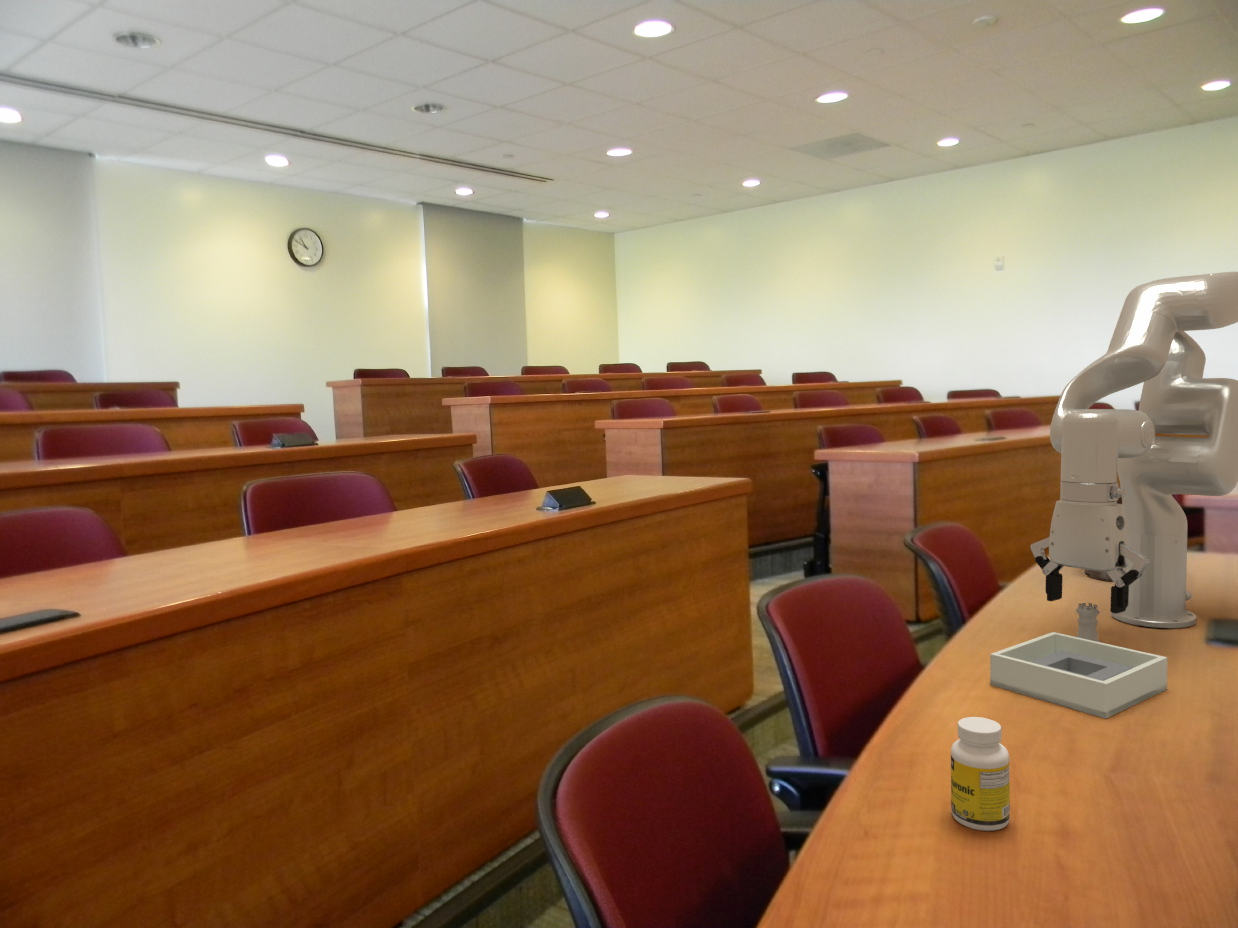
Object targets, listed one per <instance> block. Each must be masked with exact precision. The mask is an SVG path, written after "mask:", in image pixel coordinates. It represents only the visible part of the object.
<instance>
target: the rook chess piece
mask: <svg viewBox="0 0 1238 928" xmlns="http://www.w3.org/2000/svg"><path fill="white" fill-rule="evenodd" d="M1075 612H1076V613H1077V614H1078V618H1077V622H1078V629H1077V635H1076V637H1078V638H1083V639H1087V640H1092V641H1096V642H1101V640H1100V639H1099V636H1098V627H1097V624H1098V623H1099V621H1098V619H1097V617H1098V615H1100V613H1101V611H1100V610H1099V608H1098V604H1095V603H1094V604H1093V603H1091V602H1088V605H1087V603H1086V602H1081V603H1078V607H1077V608H1076V609H1075Z"/></svg>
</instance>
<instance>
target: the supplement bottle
mask: <svg viewBox="0 0 1238 928" xmlns="http://www.w3.org/2000/svg"><path fill="white" fill-rule="evenodd" d="M957 737H958V739H957V740H955V742H953V743H952V745H951V748H950V794H951V795H950V798H951V799H950V804H951V805H950V807H951V814H952V817H953V818H954V819H955V821H956V822H958V823H959V824H961V825H962V826H964V827H966V828H969V829H973V830H977V831H984V832H991V831H998V830H1002V829H1003V828H1006V827H1007V826H1008V825H1009V823H1010V819H1011V818H1010V811H1011V808H1010V807H1011V806H1010V802H1011V801H1010V799H1011V798H1010V793H1011V792H1010V787H1011V786H1010V754H1009V751H1008V749H1007V747H1005V746H1004V745H1003V744H1002V743H1001V742H1002V725H1001V724H1000V723H999V722H998V721H995V720H993V719H989V718H986V717H981V716H968V717H963V718H960V719H959V720H958V722H957Z"/></svg>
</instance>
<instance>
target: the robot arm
mask: <svg viewBox="0 0 1238 928" xmlns="http://www.w3.org/2000/svg"><path fill="white" fill-rule="evenodd" d="M1237 323H1238V271H1225V272H1214V273H1204V274H1195V275H1185V276H1184V275H1183V276H1177V277H1176V276H1175V277H1173V276H1172V277H1168V278H1167V277H1166V278H1161V279H1156V280H1153V281H1149V282H1145V283H1142V284H1139V285H1138V286H1136V287H1134V288H1133V289H1132V290H1130V292H1129V293H1128V294H1127V295H1126V298H1125V299H1124V302H1123V304H1122V308H1121V311H1120V313H1119V317H1118V320H1117V323H1116V325H1115V328H1114V330H1113V334H1112V337H1111V339H1110V342H1109V345H1108V349H1107V351H1106V353H1105V354H1103V355H1102V356H1101V357H1099V358H1097V359H1096V360H1094V361H1093V362H1091V363H1090V364H1089V365H1087V366H1085V368H1083V369H1082V370H1081V371H1080V372H1078V373H1077V375H1075V376H1074V377H1073V378H1072V379H1071V380H1069V382H1068V383H1067V384H1066V386H1064V388H1063V390H1062V392H1061V394H1060V396H1059V399H1058V401H1057V404H1056V407H1055V409H1054V412H1053V415H1052V419H1051V422H1050V427H1049V441H1050V443H1051V446H1052V447H1053V449H1054V450H1055V451H1056V452H1057V453H1059V454H1060V455H1061V456H1060V486H1059V487H1060V488H1059V489H1060V493H1059V494H1060V495H1059V500H1056V502H1055V506H1054V509H1053V512H1052V513H1053V514H1052V517H1051V523H1050V530H1049V531H1050V532H1049V536H1048V537H1046V538H1044V539H1040V540H1038V541H1036V542H1033V543H1031V544H1030V550H1031V552H1032V554H1033V557H1034V559H1035V562H1036V564H1037V565H1038V567H1039V568H1040V569H1041V571H1042V574H1043V575H1045V593H1046V600H1047V602H1055V601H1058V600H1062V598H1063V574H1062V573H1060V571H1061V570H1062V569H1063V568H1064V567H1068V568H1073V569H1082V570H1085V569H1086V570H1093V571H1100V572H1107V574H1108V575H1109V576H1110V578H1111V579H1112V580H1113V583H1114V585H1112V586H1111V587H1110V606H1109V607H1110V608H1109V609H1110V615H1111V616H1112V617H1113V618H1114V619H1116V620H1117V621H1120V622H1123V623H1126V624H1131V625H1134V626H1139V627H1140V626H1141V627H1147V628H1159V629H1180V628H1181V629H1182V628H1188V627H1191V626H1194V625H1196V623H1197V615H1196V614H1195V613H1194V612H1192V611H1189V610H1188V609H1187V607H1186V606H1187V605H1186V603H1187V601H1189V600H1191V599H1192V596H1193V595H1192V592H1191V591H1190V590H1188V589H1187V562H1188V561H1187V559H1188V557H1187V556H1188V519H1187V516H1186V513H1185V512H1184V510H1183V508H1182V507H1181V505H1180V504H1179V503H1178V501H1177V500H1176V499H1175V498H1174V496H1173V495H1187V496H1188V495H1190V496H1202V497H1204V496H1205V497H1207V496H1208V497H1221V496H1222V497H1223V496H1225V495H1228V494H1230V493H1232V492H1233V491H1234V489H1235V488H1236V486H1237V484H1238V380H1237V379H1235V378H1230V377H1229V378H1227V377H1211V378H1210V377H1208V378H1207V377H1206V378H1205V377H1204V371H1205V367H1206V360H1207V359H1206V354H1205V352H1204V350H1203V348H1202V347H1201V346H1200V345H1199V343H1198V342H1197V341H1196V340H1195V339H1194V338H1193V337H1192V336H1190V335H1189V334H1188V333H1187V332H1189V331H1190V332H1191V331H1204V330H1205V331H1206V330H1208V331H1209V330H1216V329H1222V328H1225V327H1228V326H1231V325H1234V324H1237ZM1142 383H1143V384H1142ZM1140 384H1142V389H1141V394H1140V399H1139V405H1138V410H1137V409H1130V408H1129V409H1128V408H1127V409H1126V408H1124V409H1122V408H1121V409H1119V408H1118V409H1115V408H1112V409H1110V408H1091V407H1092V406H1093V405H1094V404H1095V403H1097V402H1098V401H1100V400H1101V399H1104V398H1105V397H1106V398H1107V396H1109V395H1112V394H1115V393H1117V392H1118V393H1119V392H1120V391H1123V390H1127V389H1128V388H1131V387H1134V386H1137V385H1140ZM1156 434H1162V435H1163V434H1164V435H1190V436H1191V435H1200V436H1208V437H1184V436H1183V437H1181V436H1156ZM1118 479H1119V483H1118ZM1120 497H1122V504H1117V501H1118V498H1120ZM1046 548H1048V555H1049V556H1047V555H1046V554H1045V549H1046Z"/></svg>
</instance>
